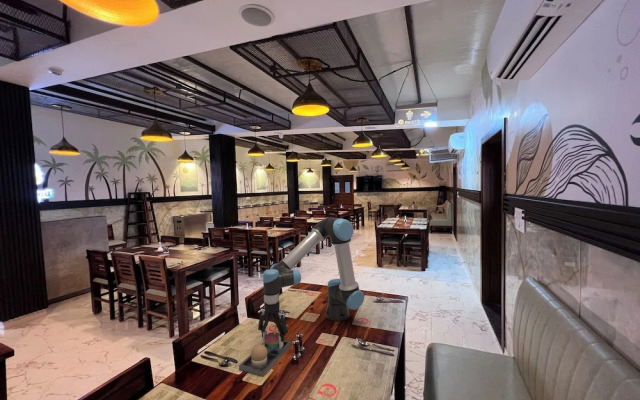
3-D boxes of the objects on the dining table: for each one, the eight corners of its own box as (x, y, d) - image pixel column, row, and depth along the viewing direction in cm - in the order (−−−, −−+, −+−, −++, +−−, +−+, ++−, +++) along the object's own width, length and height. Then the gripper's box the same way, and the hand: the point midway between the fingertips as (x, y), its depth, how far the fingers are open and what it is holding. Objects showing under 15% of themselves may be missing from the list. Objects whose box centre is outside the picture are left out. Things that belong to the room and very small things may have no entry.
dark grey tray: (290, 347, 143) (290, 341, 143) (263, 378, 120) (263, 372, 120) (269, 342, 148) (269, 337, 148) (239, 372, 125) (238, 365, 125)
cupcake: (284, 344, 142) (284, 321, 141) (276, 353, 134) (276, 329, 133) (269, 341, 145) (269, 318, 144) (261, 350, 137) (260, 326, 136)
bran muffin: (271, 361, 130) (270, 342, 130) (261, 371, 123) (261, 351, 123) (257, 357, 133) (256, 339, 133) (247, 367, 126) (247, 348, 126)
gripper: (294, 301, 138) (295, 345, 139) (258, 295, 146) (259, 337, 147) (286, 307, 131) (288, 354, 132) (249, 301, 139) (251, 345, 140)
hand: (273, 345), depth 139 cm, fingers closed on cupcake, 8 cm apart
